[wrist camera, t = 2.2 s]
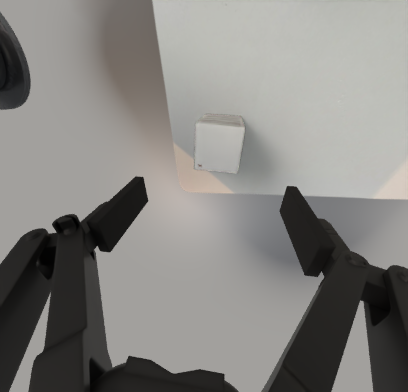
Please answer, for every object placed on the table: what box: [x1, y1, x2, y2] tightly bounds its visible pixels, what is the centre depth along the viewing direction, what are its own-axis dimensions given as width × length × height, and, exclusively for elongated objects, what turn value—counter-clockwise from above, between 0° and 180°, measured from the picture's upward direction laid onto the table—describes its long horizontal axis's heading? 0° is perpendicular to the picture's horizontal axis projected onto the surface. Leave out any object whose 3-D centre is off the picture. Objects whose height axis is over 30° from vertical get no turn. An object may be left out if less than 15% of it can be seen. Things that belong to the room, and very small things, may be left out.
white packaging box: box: [194, 114, 245, 174], centre depth 31 cm, size 7×7×13 cm
